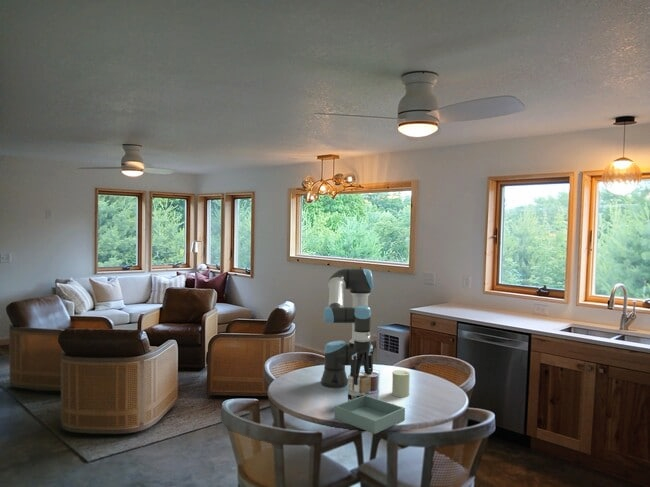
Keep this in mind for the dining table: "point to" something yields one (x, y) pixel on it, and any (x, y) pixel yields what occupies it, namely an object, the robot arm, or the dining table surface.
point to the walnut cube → (363, 384)
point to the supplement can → (352, 393)
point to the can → (400, 383)
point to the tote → (370, 413)
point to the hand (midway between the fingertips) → (361, 389)
